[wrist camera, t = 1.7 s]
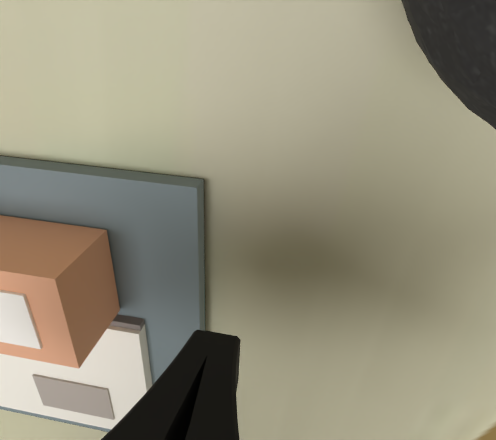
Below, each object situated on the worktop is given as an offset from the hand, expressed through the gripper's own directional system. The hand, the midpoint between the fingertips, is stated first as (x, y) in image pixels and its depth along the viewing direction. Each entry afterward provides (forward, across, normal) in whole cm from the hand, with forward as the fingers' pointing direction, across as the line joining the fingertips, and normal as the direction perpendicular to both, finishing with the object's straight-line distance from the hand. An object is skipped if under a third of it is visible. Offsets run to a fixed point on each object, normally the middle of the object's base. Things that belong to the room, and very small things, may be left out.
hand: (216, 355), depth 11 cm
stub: (+4, +8, 0) cm, 9 cm away
